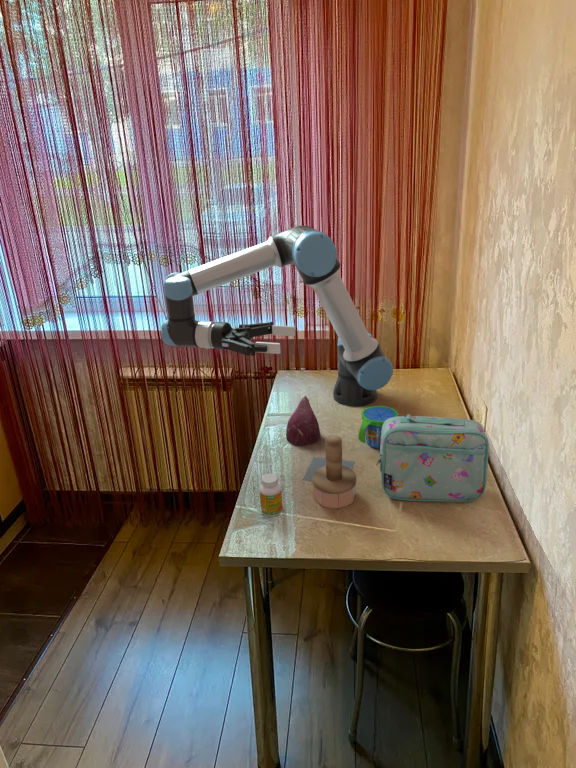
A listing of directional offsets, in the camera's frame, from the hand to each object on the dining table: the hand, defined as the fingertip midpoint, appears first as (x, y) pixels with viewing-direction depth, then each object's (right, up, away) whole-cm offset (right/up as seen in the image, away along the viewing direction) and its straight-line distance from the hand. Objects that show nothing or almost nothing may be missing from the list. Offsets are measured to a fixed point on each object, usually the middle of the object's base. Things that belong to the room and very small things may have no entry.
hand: (287, 339), depth 150 cm
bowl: (+12, -41, -7) cm, 43 cm away
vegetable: (+5, -29, +21) cm, 36 cm away
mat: (+11, -36, +4) cm, 38 cm away
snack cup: (+27, -30, +17) cm, 44 cm away
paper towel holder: (+12, -36, -9) cm, 39 cm away
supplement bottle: (-4, -44, -10) cm, 45 cm away
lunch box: (+36, -40, -7) cm, 54 cm away
